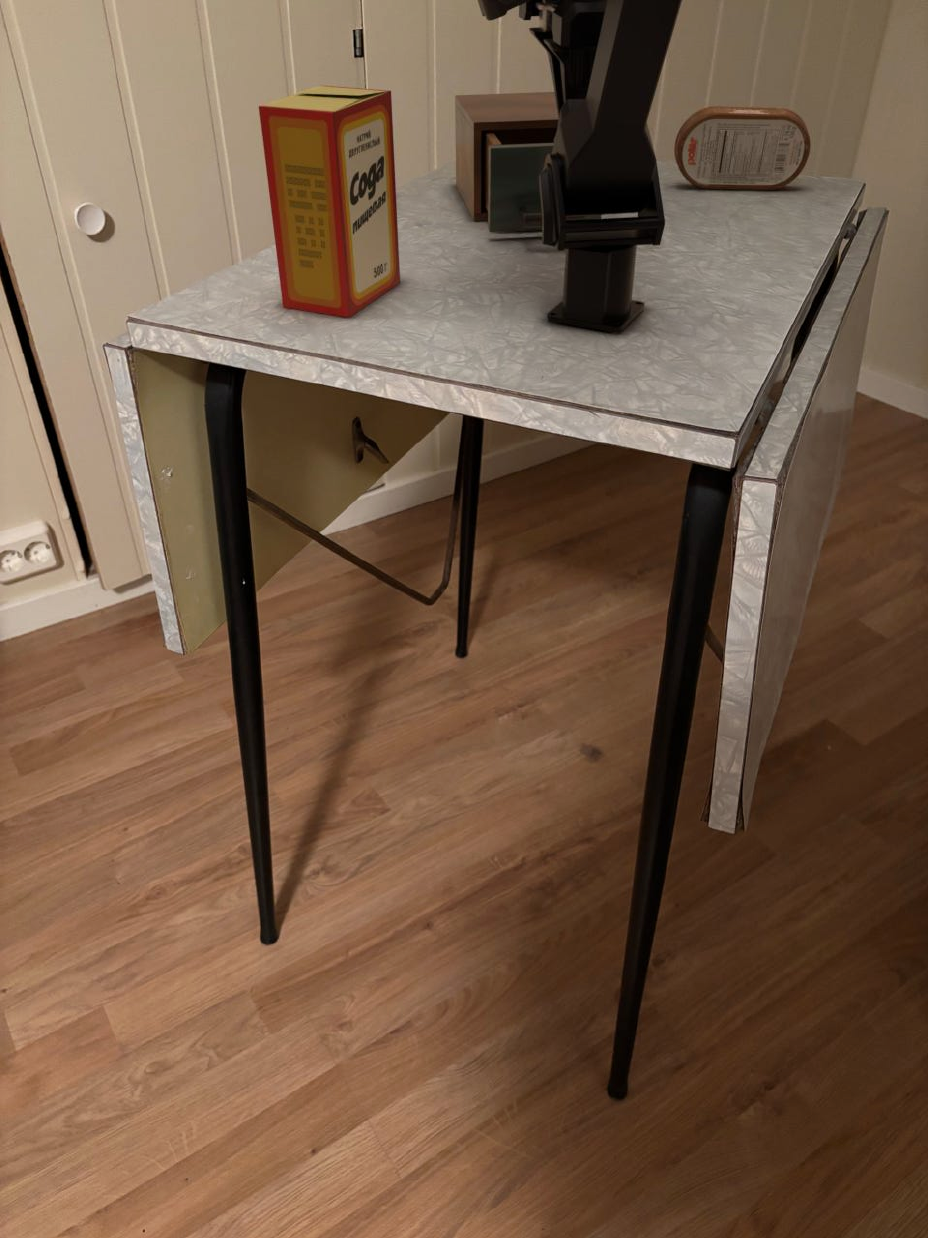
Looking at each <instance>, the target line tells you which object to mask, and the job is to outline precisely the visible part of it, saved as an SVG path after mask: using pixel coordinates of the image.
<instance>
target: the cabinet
mask: <svg viewBox="0 0 928 1238" xmlns="http://www.w3.org/2000/svg"><path fill="white" fill-rule="evenodd" d="M454 105H455V106H454V110H455V111H454V116H455V117H454V118H455V119H454V120H455V121H454V122H455V125H454V126H455V185H456V188H457V190H458V192H459V194H460V197H461V198H462V200H463V201H464V204H465V206H466V208H467V210H468V212H469V214H470V216H471V218H472V221H473V222H484V221H485V222H488V211H487V210H486V208H485V206H484V204H483V202H482V200H481V131H484V130H510V129H536V128H558V122H559V116H558V110H557V104H556V98H555V92H554V91H543V92H542V91H539V92H537V91H536V92H511V93H510V92H509V93H485V94H483V93H482V94H480V93H479V94H456V95H454Z"/></svg>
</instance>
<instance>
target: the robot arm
mask: <svg viewBox="0 0 928 1238" xmlns="http://www.w3.org/2000/svg"><path fill="white" fill-rule="evenodd" d="M682 2H683V0H477V3H478V6H479V10H480V12H481V16H482V17H485V18H486V20H487V21H489V22H490V21H494V20H497V19H500V18H502V17H505V16H506V15H507V14H508V11H510V10H513V9H515V8H517V7H518V17H519V18H520V19H521V20H523V21H531V20H532V17H538V26H537V27H529V28H528V31H529V32H530V34H531V35H532V36H533V37H534V38H535V39H536V40H537V41H538V43H539V44H540V45H541V46H542V47H543V49H544V50H545V51H546V53H547V58H548V62H549V63H548V64H549V67H550V68H549V69H550V74H551V80H552V86H553V92H555V98H556V104H557V110H558V116H559V122H558V128H557V132H556V136H555V138H554V146H553V150H552V154H548V155H547V156H546V160H545V165H544V168H543V171H542V172H541V174H540V175H539V186H540V197H541V208H542V230H541V243H542V245H545V246H550V247H553V248H554V249H555V250H556V251H561V252H562V251H564V250H565V251H564V253H565V254H564V272H563V288H562V301H560V302H559V303H558V304H557V305H556V306H554V308H552V309H551V310H550V311H549V312H547V314H546V320H547V321H549V322H554V323H558V324H559V323H560V324H565V325H571V326H575V327H582V328H588V329H593V330H599V331H605V332H611V333H621V332H622V331H623V330H624V329H625V328H626V327H627V326H628V325H629V324H630V323H632V321H633V320H634V319H635V318H637V316H639V314H641V312H643V311H644V309H645V302H643V301H641V300H634V299H633V290H634V280H635V270H636V260H637V251H638V250H637V249H638V246H649V245H651V246H660V245H661V243H662V238H663V234H664V230H665V226H666V218H665V211H664V204H663V203H664V202H663V197H662V190H661V183H660V175H659V169H658V163H657V162H658V161H657V157H656V156H657V155H656V153H655V149H654V145H653V140H652V137H651V132H650V129H649V124H648V119H649V116H650V112H651V109H652V105H653V102H654V98H655V95H656V91H657V87H658V84H659V81H660V78H661V74H662V71H663V67H664V64H665V61H666V57H667V53H668V50H669V48H670V47H669V46H670V43H671V39H672V36H673V33H674V29H675V26H676V23H677V20H678V16H679V12H680V9H681V5H682ZM621 214H624V215H626V214H637V216H629V217H626V216H625V217H608V218H606V217H605V218H601V219H585V220H566V216H586V215H604V216H605V215H621Z"/></svg>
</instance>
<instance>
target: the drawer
mask: <svg viewBox="0 0 928 1238" xmlns="http://www.w3.org/2000/svg"><path fill="white" fill-rule="evenodd" d="M556 132H557V128H536V129H510V130H484V131H481V200H482V202H483V204H484V206H485V208H486V210H487V211H488V221H487V228H488V232H489V233H502V232H503V233H504V232H505V233H506V232H525V231H542V208H541V197H540V186H539V175H540V174H541V172H542V171H543V168H544V165H545V160H546V156H547V155H548V154H552V150H553V146H554V138H555V136H556ZM585 219H602V215H586V216H566V220H585Z"/></svg>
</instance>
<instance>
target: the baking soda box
mask: <svg viewBox="0 0 928 1238" xmlns="http://www.w3.org/2000/svg"><path fill="white" fill-rule="evenodd" d="M258 115H259V121H260V122H259V123H260V130H261V138H262V146H263V147H262V148H263V154H264V164H265V170H266V171H265V172H266V179H267V187H268V195H269V203H270V210H271V211H270V213H271V220H272V227H273V236H274V242H275V243H274V245H275V251H276V260H277V268H278V277H279V285H280V292H281V302H282V308H287V309H293V310H298V311H305V312H310V313H311V312H312V313H318V314H322V315H329V316H336V317H341V318H347V319H350V318H351V317H353V316H354V315H356V314H357V313H358V312H360V311H361V310H362V309H364V308H366V307H368V306H369V305H370V304H371V303H373V302H374V301H376V300H377V299H379V298H380V297H382V296H383V295H385V294H386V293H387V292H389V291H390V290H392V289H393V288H394V287H396V286H397V285H399V284H400V283H401V270H400V269H401V268H400V248H399V228H398V227H399V226H398V208H397V207H398V205H397V187H396V186H397V184H396V183H397V182H396V167H395V166H396V165H395V144H394V141H395V140H394V124H393V123H394V122H393V103H392V90H386V89H373V88H360V87H346V86H334V85H318V86H314V87H312V88H311V87H310V88H308V89H304V90H300V91H298V92H296V93H295V94H292V95H288V96H286V97H283V98H279V99H276V100H273V101H271V102H268V103H264V104H261V105H258Z"/></svg>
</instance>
